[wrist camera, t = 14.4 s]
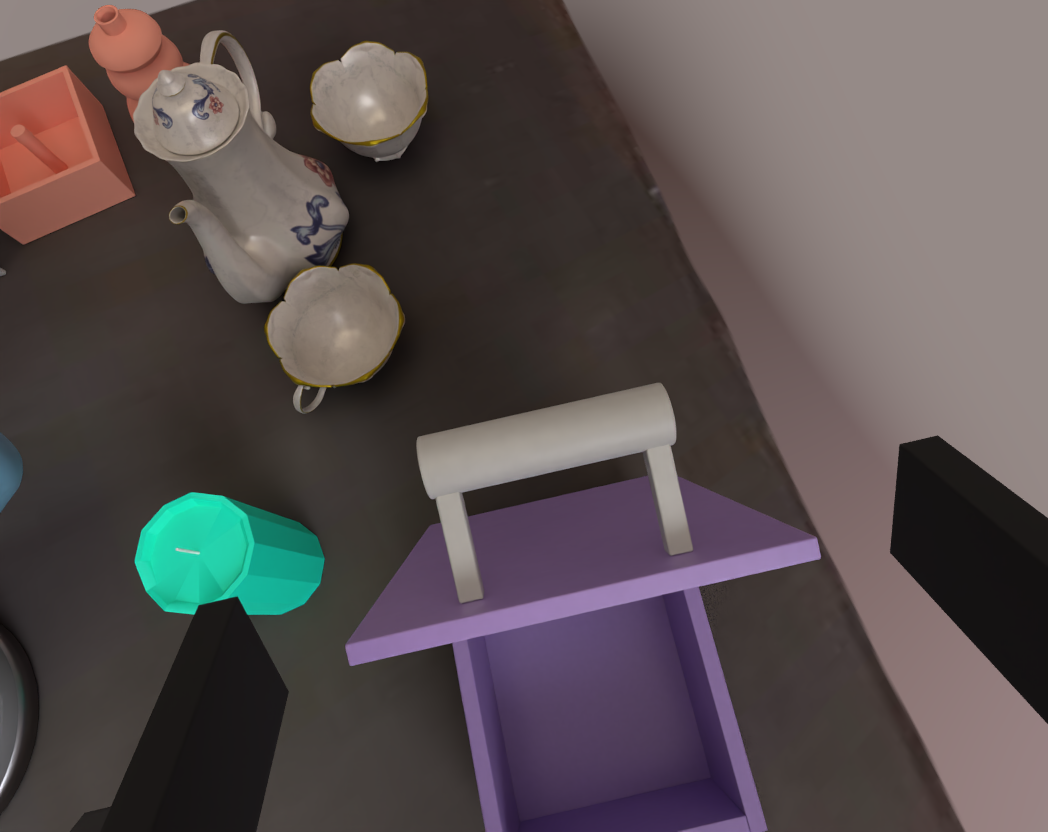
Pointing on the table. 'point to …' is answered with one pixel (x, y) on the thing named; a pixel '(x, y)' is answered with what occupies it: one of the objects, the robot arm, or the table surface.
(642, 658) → the box
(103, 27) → the pottery
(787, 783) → the table surface
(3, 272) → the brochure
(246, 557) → the candle
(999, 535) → the robot arm
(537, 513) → the lid
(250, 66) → the chinaware
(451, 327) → the table surface
